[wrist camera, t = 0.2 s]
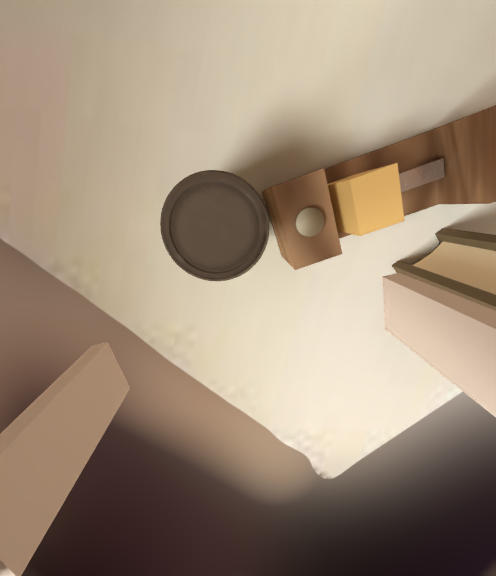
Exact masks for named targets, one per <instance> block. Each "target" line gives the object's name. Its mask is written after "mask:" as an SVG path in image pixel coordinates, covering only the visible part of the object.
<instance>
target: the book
mask: <svg viewBox="0 0 496 576" xmlns="http://www.w3.org/2000/svg"><path fill="white" fill-rule="evenodd" d="M436 236H437V238H438V240H439V242H440V245H439V246H438V247H437V248H436V249H435V250H434V251H433V252H432V253H431V254H429V255H428V256H426V257H425V258H424V259H422V260H421V261H419V262H417V263H415V264H413V265H410V264H407V263H404V262H401V261H397V262H396V263H394V264H393V265H392V267H393V268H394V269H395V271H396V272H397V273H401V274H403V275H406V276H408V277H411V278H413V279H416V280H419V281H421V282H424V283H426V284H429V285H431V286H434V287H436V288H439V289H442V290H444V291H447V292H449V293H452V294H454V295H457V296H459V297H462V298H464V299H467V300H470V301H472V302H475V303H477V304H480V305H482V306H485V307H487V308H490V309H493V310H495V311H496V235H490V234H482V233H474V232H467V231H459V230H451V229H443V228H442V229H441V230H440V231H438V232H437V233H436Z"/></svg>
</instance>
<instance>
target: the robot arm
mask: <svg viewBox="0 0 496 576" xmlns="http://www.w3.org/2000/svg"><path fill="white" fill-rule="evenodd" d="M383 295H384V313H385V329H386V330H387V331H389V332H390V333H391V334H392V335H394V336H395V337H396V338H397V339H399V340H400V341H401V342H402V343H404V344H405V345H406V346H407V347H409V348H410V349H411V350H412V351H414V352H415V353H416V354H417V355H419V356H420V357H421V358H422V359H424V360H425V361H426V362H427V363H429V364H430V365H431V366H432V367H434V368H435V369H436V370H437V371H438V372H440V373H441V374H442V375H443V376H445V377H446V378H447V379H448V380H450V381H451V382H452V383H453V384H455V385H456V386H457V387H458V388H460V389H461V390H462V391H463V392H465V393H466V394H467V395H468V396H470V397H471V398H472V399H473V400H475V401H476V402H477V403H478V404H480V405H481V406H482V407H483V408H485V409H486V410H487V411H488V412H490V413H491V414H492V415H493V416H495V417H496V311H495V310H493V309H490V308H487V307H485V306H482V305H480V304H477V303H475V302H472V301H470V300H467V299H464V298H462V297H459V296H457V295H454V294H452V293H449V292H447V291H444V290H442V289H439V288H436V287H434V286H431V285H429V284H426V283H424V282H421V281H419V280H416V279H413V278H411V277H408V276H406V275H403V274H401V273H396V274H392V275H388V276H383ZM129 389H130V387H129V385H128V383H127V381H126V379H125V377H124V375H123V373H122V371H121V369H120V367H119V365H118V363H117V361H116V358H115V356H114V354H113V352H112V350H111V348H110V346H109V344H108V342H106V343H102V344H98V345H93V346H91V347H90V348H89V349H88V350H87V351H86V352H85V353H84V354H83V355H82V356H81V357H80V358H79V359H78V360H77V361H76V362H75V363H74V364H73V365H72V366H71V367H69V368H68V369H67V370H66V371H65V372H64V373H63V374H62V375H61V376H60V377H59V378H58V379H57V380H56V381H55V382H54V383H53V384H52V385H51V386H50V387H49V388H48V389H47V390H46V391H44V393H43V394H41V395H40V396H39V397H38V398H37V399H36V400H35V401H34V402H33V403H32V404H31V405H30V406H29V407H28V408H27V409H26V410H25V411H24V412H23V413H22V414H21V415H20V416H18V418H16V419H15V420H14V421H13V422H12V423H11V424H10V425H9V426H8V427H7V428H6V429H5V430H4V431H3V432H2V433H1V434H0V576H21V575H22V573H23V571H24V569H25V568H26V566H27V564H28V562H29V561H30V559H31V557H32V555H33V554H34V552H35V551H36V549H37V547H38V545H39V544H40V542H41V540H42V538H43V537H44V535H45V533H46V532H47V529H48V528H49V526H50V525H51V523H52V521H53V520H54V518H55V516H56V514H57V513H58V511H59V509H60V508H61V506H62V504H63V502H64V501H65V499H66V497H67V496H68V494H69V492H70V490H71V489H72V487H73V485H74V484H75V482H76V480H77V478H78V477H79V475H80V473H81V471H82V470H83V468H84V466H85V465H86V463H87V461H88V460H89V458H90V456H91V454H92V453H93V451H94V449H95V448H96V446H97V444H98V442H99V441H100V439H101V437H102V435H103V434H104V432H105V430H106V429H107V427H108V425H109V424H110V422H111V420H112V418H113V417H114V415H115V413H116V412H117V410H118V408H119V406H120V405H121V403H122V401H123V399H124V398H125V396H126V394H127V393H128V391H129Z"/></svg>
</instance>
